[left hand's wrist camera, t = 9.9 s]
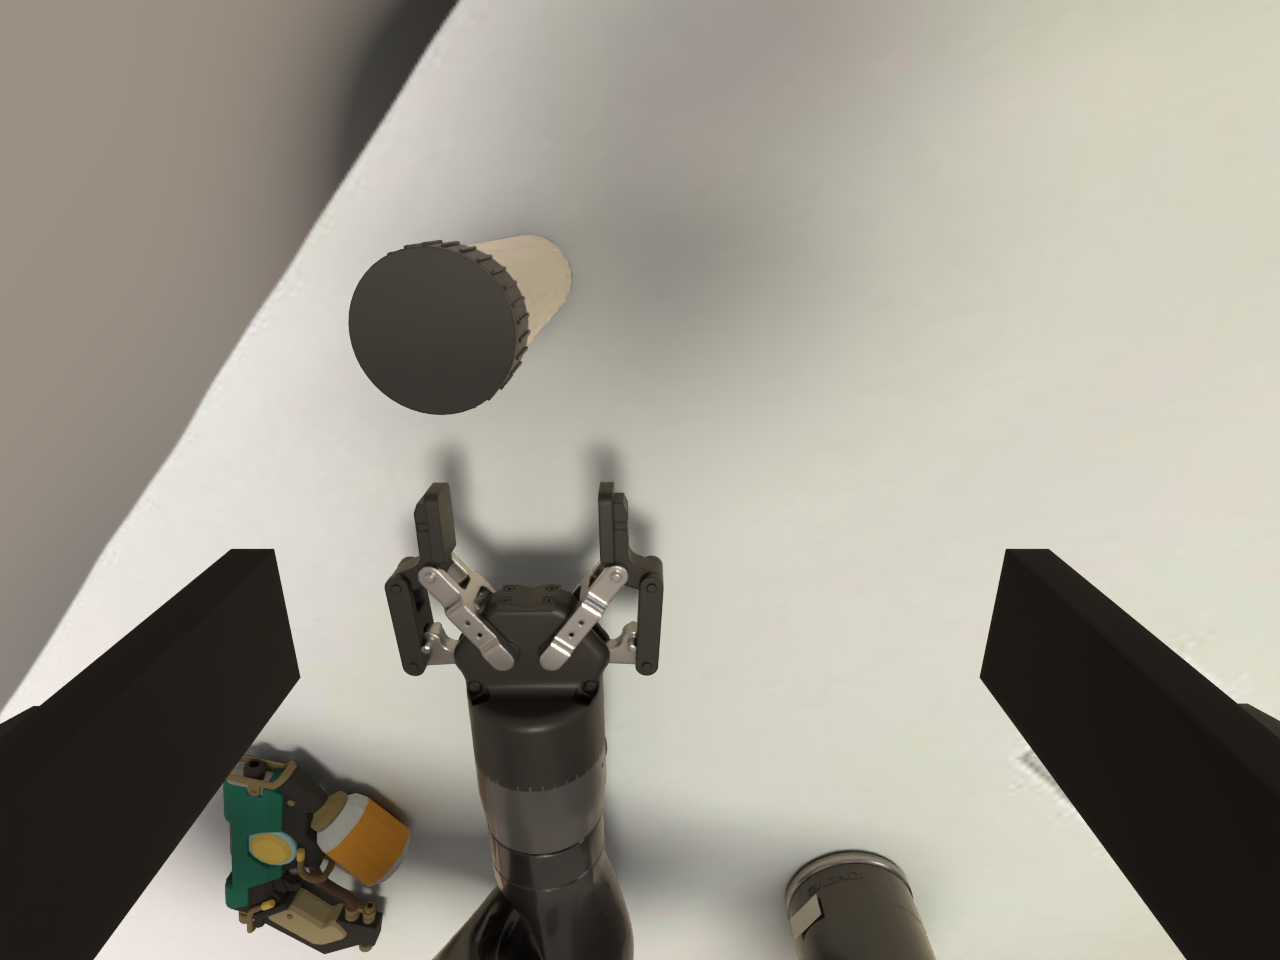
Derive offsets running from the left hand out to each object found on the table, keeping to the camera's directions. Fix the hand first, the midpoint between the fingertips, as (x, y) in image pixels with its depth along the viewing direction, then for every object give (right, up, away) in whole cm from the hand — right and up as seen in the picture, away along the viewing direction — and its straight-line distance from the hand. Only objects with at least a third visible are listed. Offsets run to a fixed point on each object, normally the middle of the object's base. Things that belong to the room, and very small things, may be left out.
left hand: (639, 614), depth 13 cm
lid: (-6, +7, +8) cm, 12 cm away
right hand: (-6, +2, +22) cm, 23 cm away
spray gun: (-24, -24, +39) cm, 52 cm away
